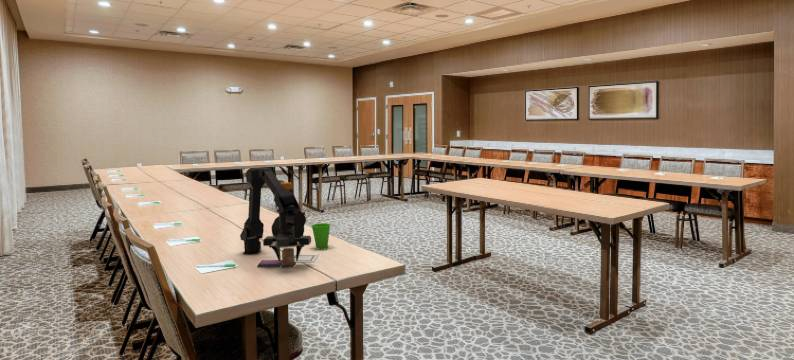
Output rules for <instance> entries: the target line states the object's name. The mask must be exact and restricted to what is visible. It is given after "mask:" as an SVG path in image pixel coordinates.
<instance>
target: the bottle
mask: <svg viewBox="0 0 794 360" xmlns="http://www.w3.org/2000/svg"><path fill="white" fill-rule="evenodd" d="M280 183H281V184H282V186H283V187H284V188H285V189H287V190H290V191H291V192H292V193H293V194H294V188H292V184H293V182H291V181H290V182H289V181H288V182H287V181H286V182H280ZM286 208H288V207H286ZM279 228H280V224H279V215H278V216H276V218H274V220H273V223H272V225H271V234H272V236H276V238H277V236H278V233H279ZM294 234H295V238H300V237H301V236H304V234H305V225H304V226H302V227H295V226H294ZM297 245H298V244H297V243H290V244H289V245H288V246H287V247H294V246H297Z"/></svg>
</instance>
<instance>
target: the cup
mask: <svg viewBox="0 0 794 360" xmlns="http://www.w3.org/2000/svg"><path fill="white" fill-rule="evenodd" d="M310 226H311V229H312V233H313V237H314V242H315V247H316V248H315V249H317V250H326V249H327V248H328V244H329V236H330V228H331V223H327V222H320V223H314V224H311V225H310Z"/></svg>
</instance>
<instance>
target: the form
mask: <svg viewBox="0 0 794 360" xmlns="http://www.w3.org/2000/svg"><path fill="white" fill-rule="evenodd" d="M319 256H320V254H300V255H299V258H298V261H296V254H294V262H296V264H297V263H300V264H301V263H316V261H317V260H318V258H319Z"/></svg>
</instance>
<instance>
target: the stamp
mask: <svg viewBox="0 0 794 360" xmlns="http://www.w3.org/2000/svg"><path fill="white" fill-rule="evenodd" d="M294 255H295V248H294V247H289V248H288V247H287V248H286V247H284V248H283V249H282V250H281V260H282V264H281V266H280V268H281V269H283V268H284V269H286V268H287V269H289V268H292V269H294V268H295V266H296V265H297V263H296V262H294Z"/></svg>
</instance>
